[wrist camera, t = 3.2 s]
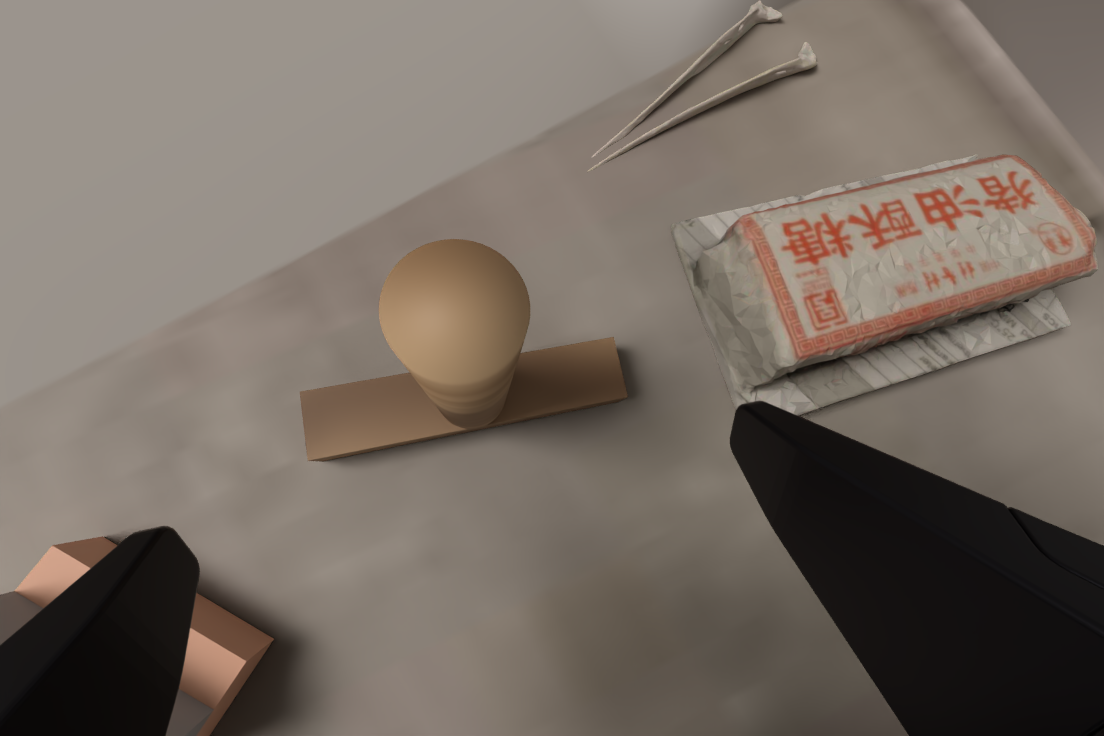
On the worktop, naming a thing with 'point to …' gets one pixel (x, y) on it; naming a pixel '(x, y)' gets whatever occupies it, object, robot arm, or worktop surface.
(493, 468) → the worktop surface
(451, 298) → the wooden stamp
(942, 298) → the packaged product
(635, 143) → the pair of ivory hairpins
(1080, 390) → the worktop surface
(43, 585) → the fulcrum stand
